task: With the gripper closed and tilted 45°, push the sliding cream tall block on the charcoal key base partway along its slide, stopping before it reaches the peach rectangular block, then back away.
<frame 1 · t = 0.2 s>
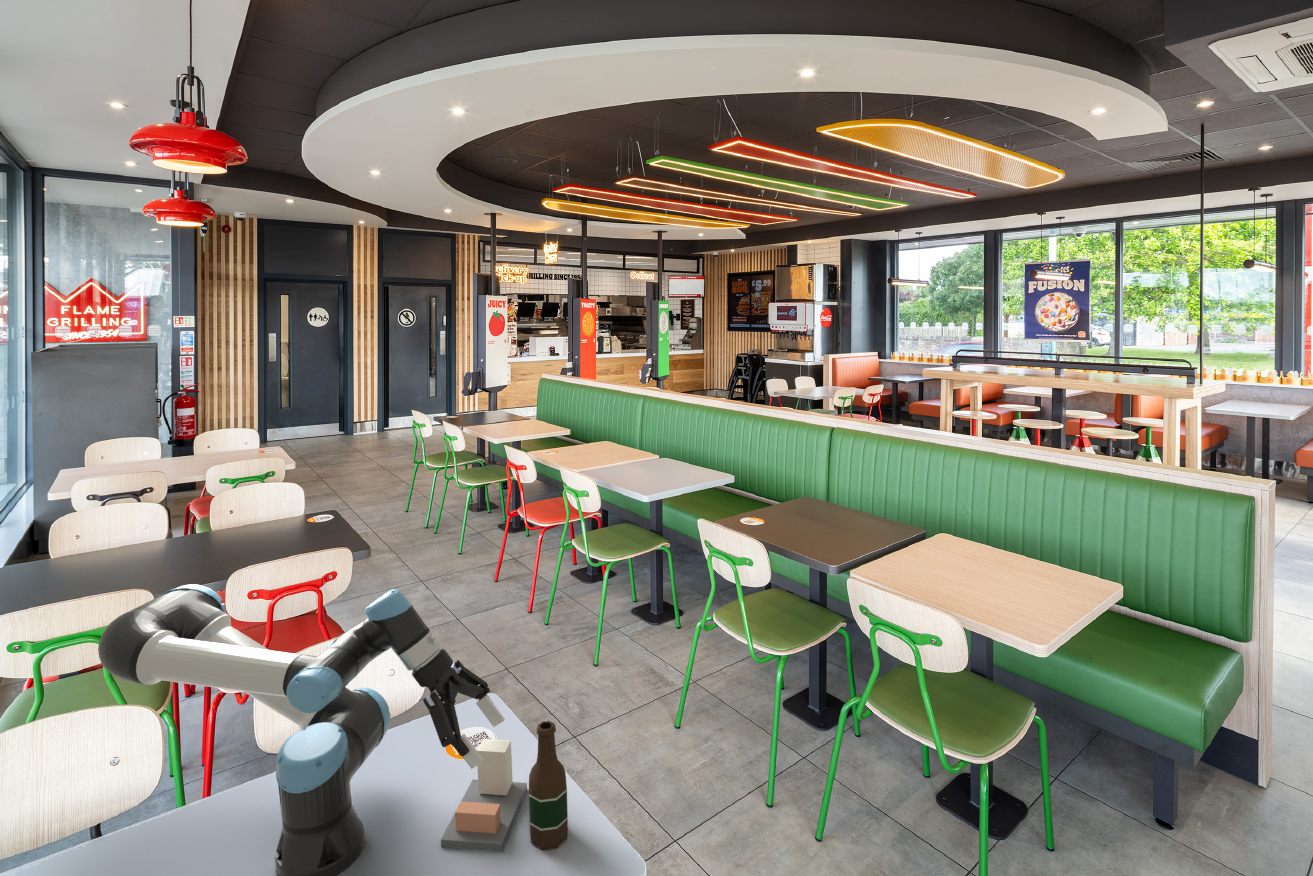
hand: (489, 743, 134), 16 cm above the table, tool tilted 35°, fingers open, 13 cm apart
peach rectangular block: (478, 833, 131), resting on key base
cream tall block: (494, 766, 140), point 7 cm above the table, slide at 0.0 cm
beer bottle: (549, 837, 130), on the table
key base: (486, 816, 136), on the table
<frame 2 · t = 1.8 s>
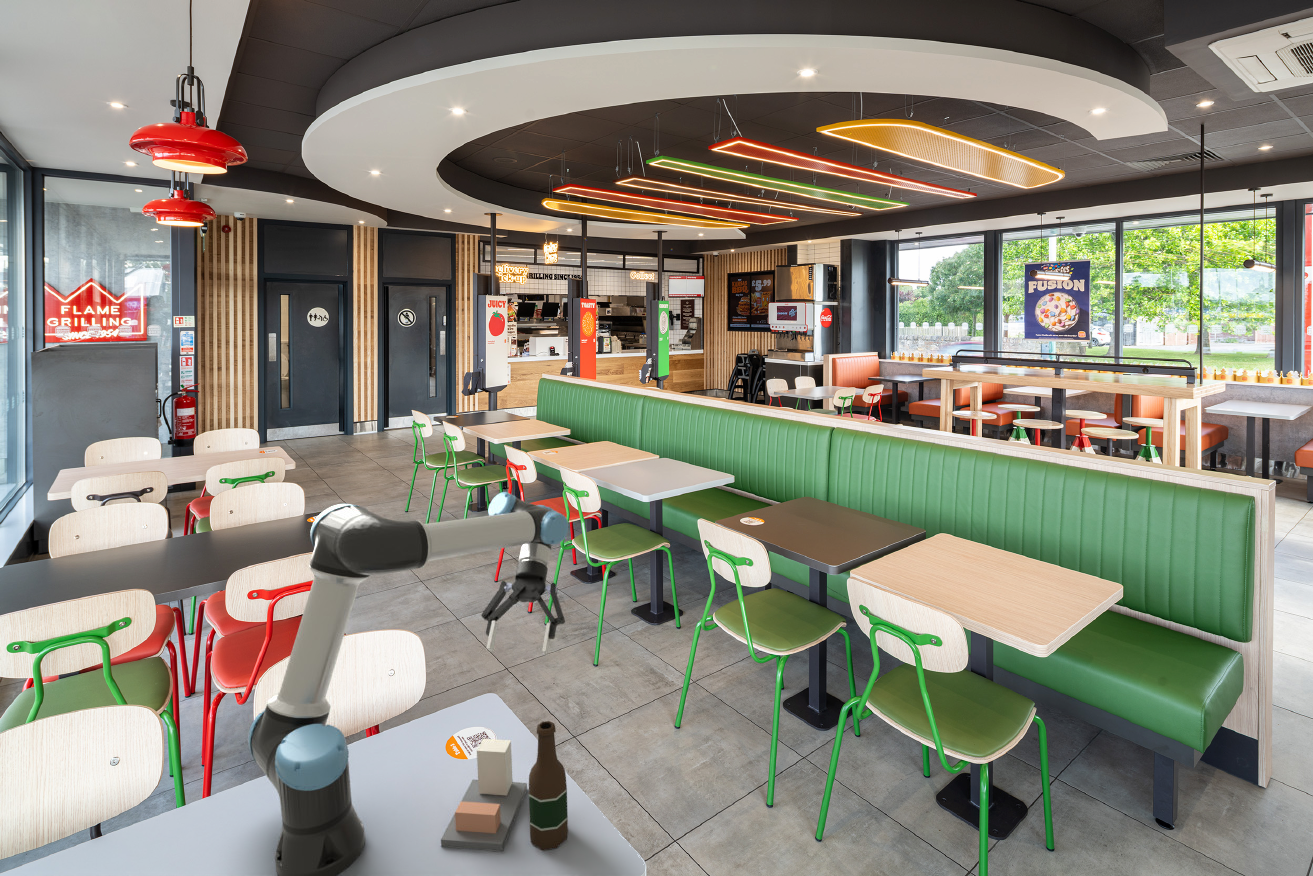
hand: (517, 651, 154), 24 cm above the table, tool tilted 45°, fingers open, 12 cm apart
nothing on the table moved.
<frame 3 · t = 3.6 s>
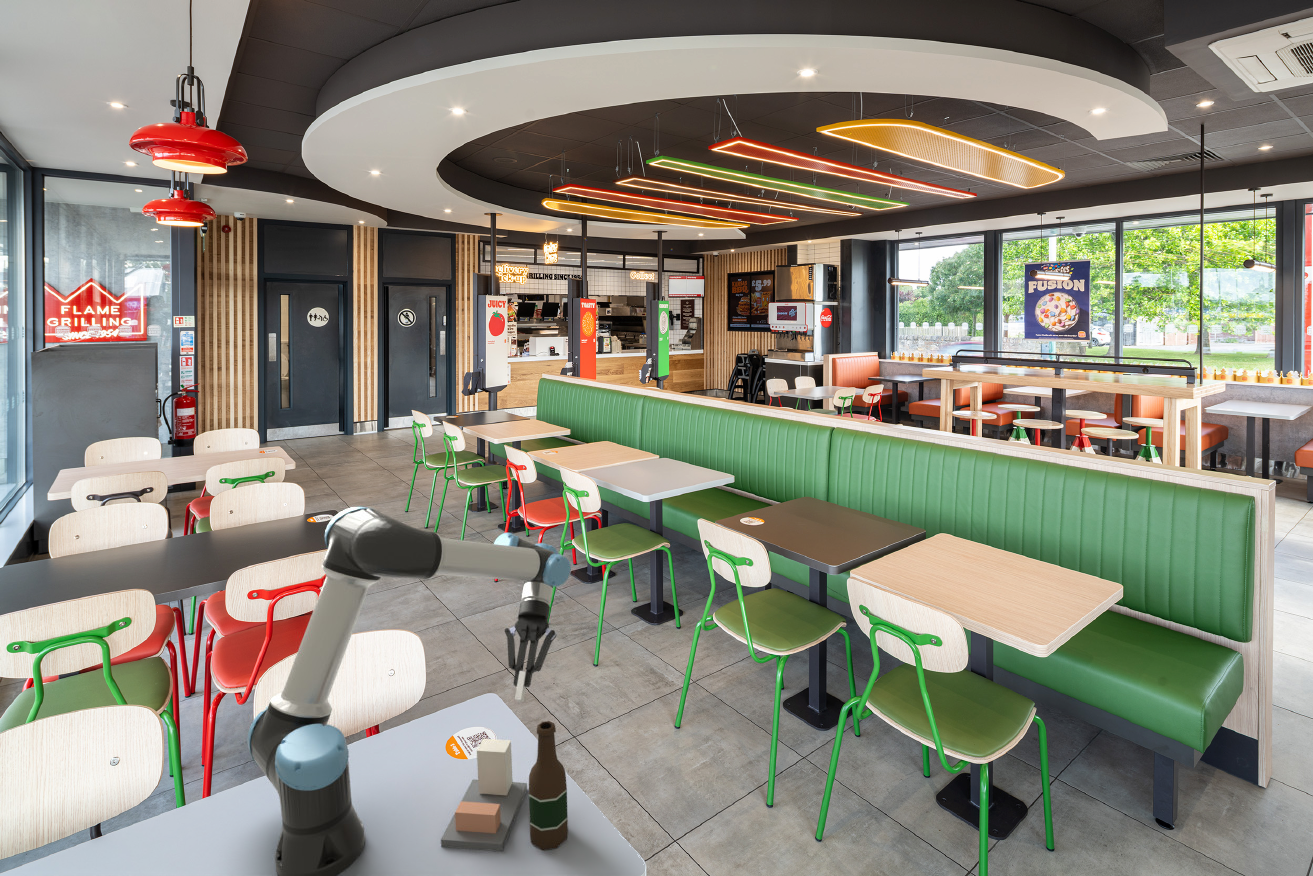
hand: (519, 700, 155), 12 cm above the table, tool tilted 45°, fingers closed
nothing on the table moved.
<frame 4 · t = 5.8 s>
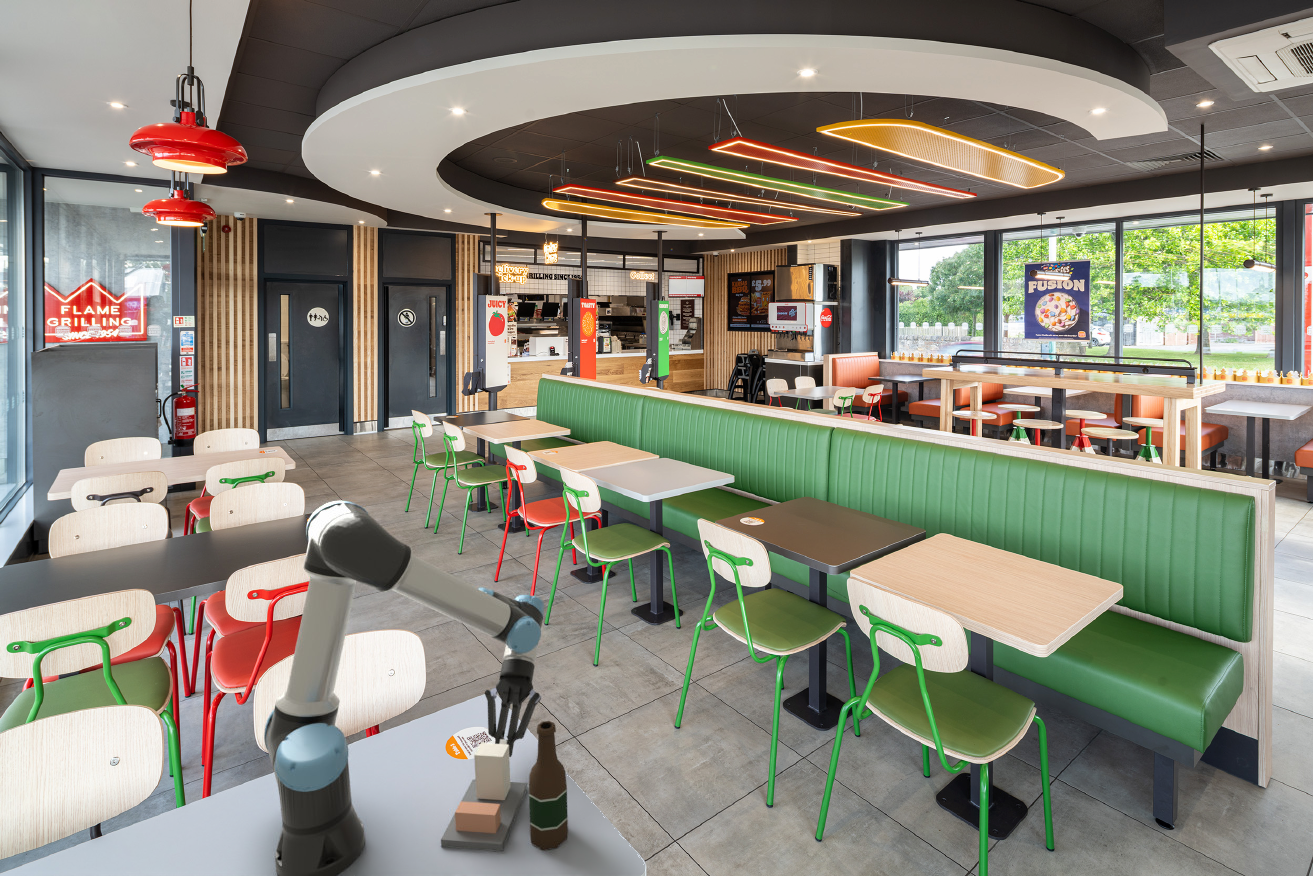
hand: (499, 773, 142), 4 cm above the table, tool tilted 45°, fingers closed
cream tall block: (492, 771, 139), point 7 cm above the table, slide at 1.4 cm, touching gripper
everything else where it was.
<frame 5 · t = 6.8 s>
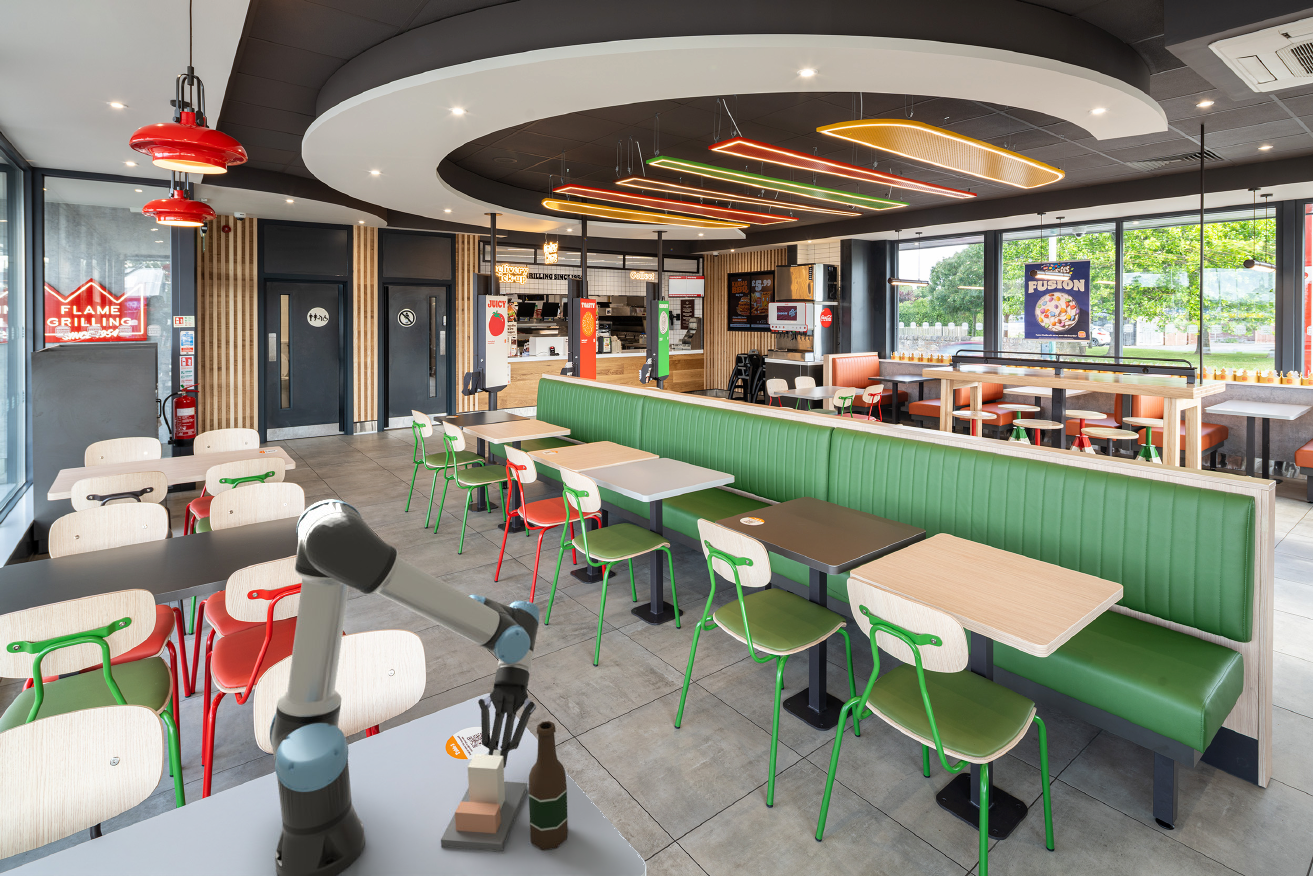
hand: (492, 784, 139), 4 cm above the table, tool tilted 45°, fingers closed
cream tall block: (486, 783, 135), point 7 cm above the table, slide at 5.1 cm, touching gripper
everything else where it was.
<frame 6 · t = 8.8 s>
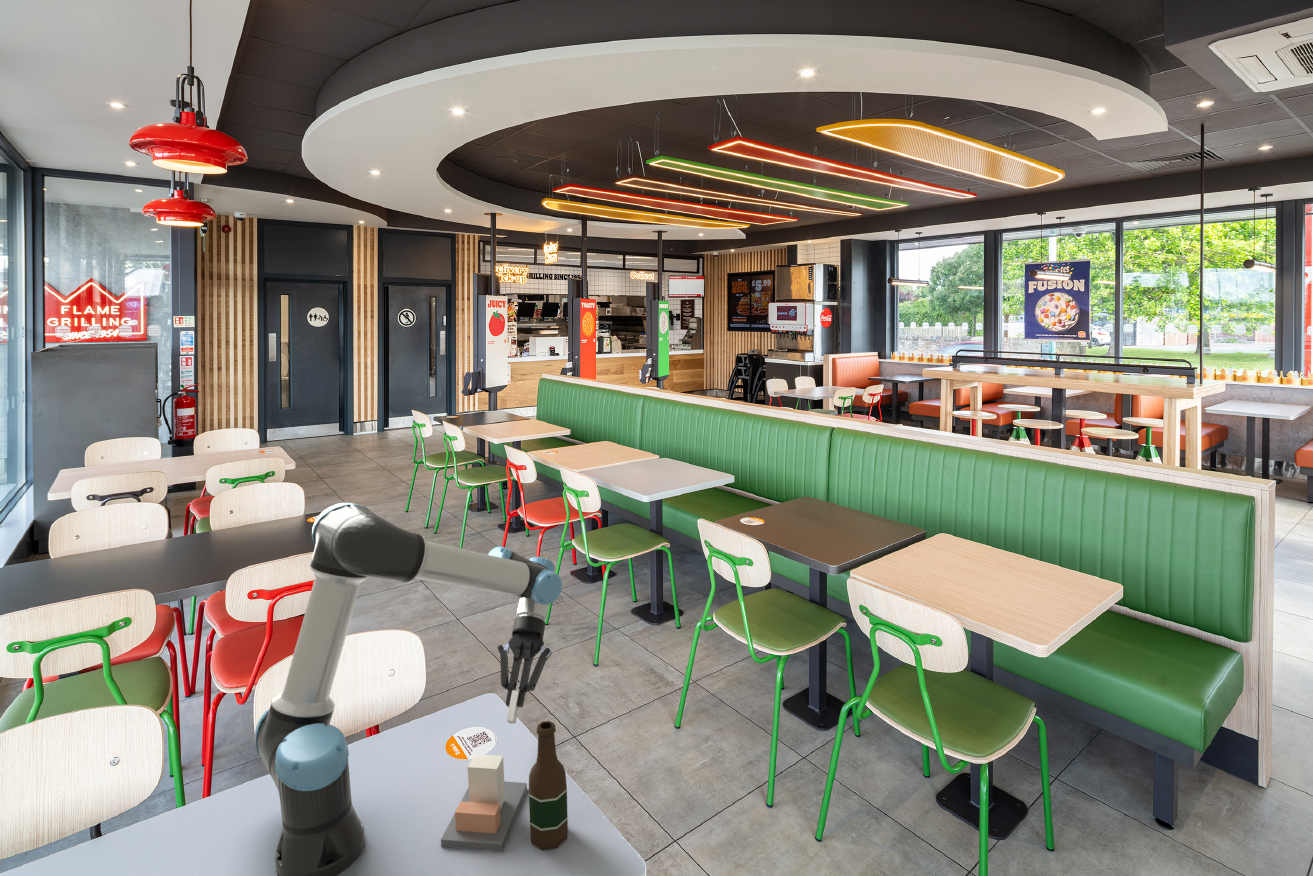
hand: (511, 721, 149), 11 cm above the table, tool tilted 45°, fingers closed
cream tall block: (486, 783, 135), point 7 cm above the table, slide at 5.2 cm
everything else where it was.
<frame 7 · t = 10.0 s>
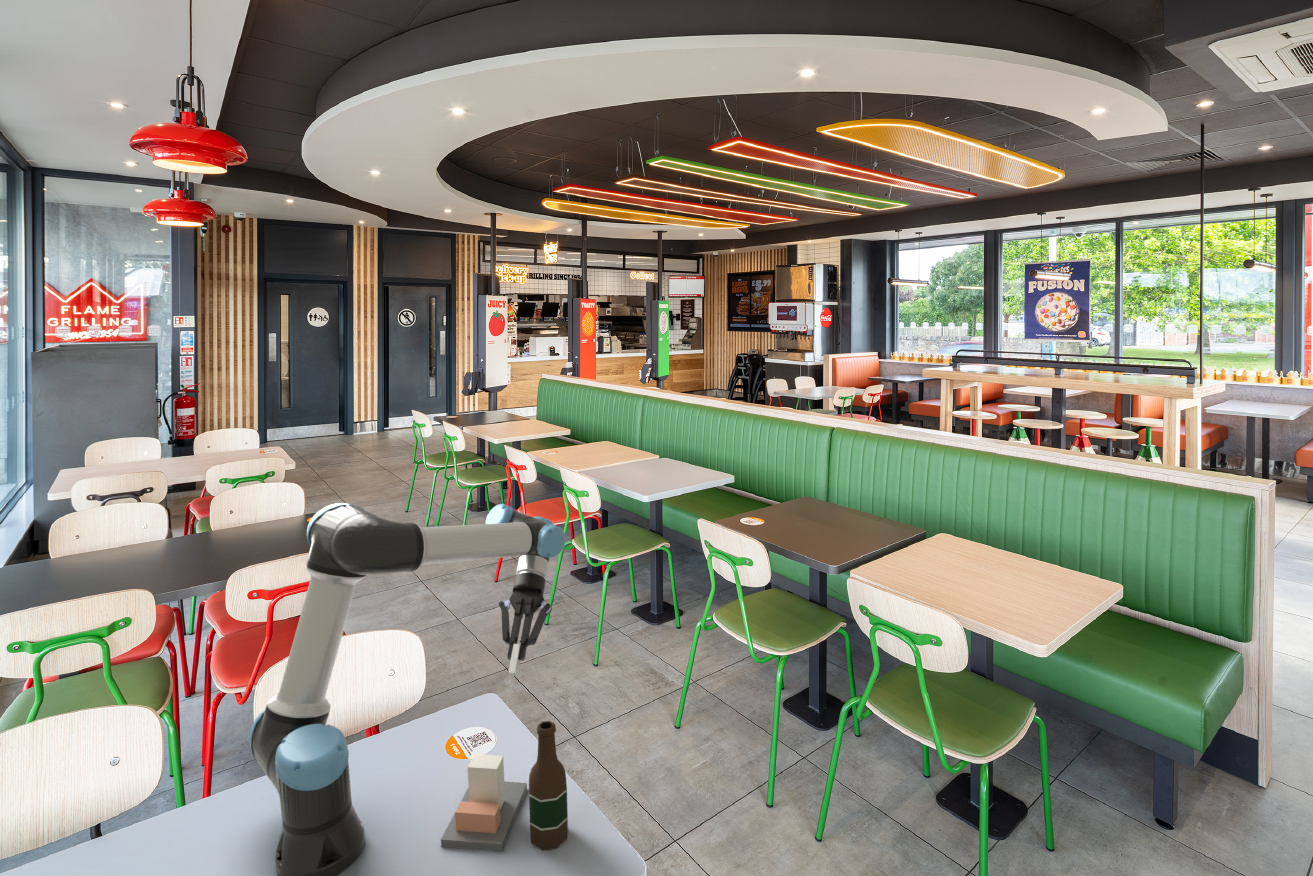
hand: (512, 674, 152), 20 cm above the table, tool tilted 45°, fingers closed
nothing on the table moved.
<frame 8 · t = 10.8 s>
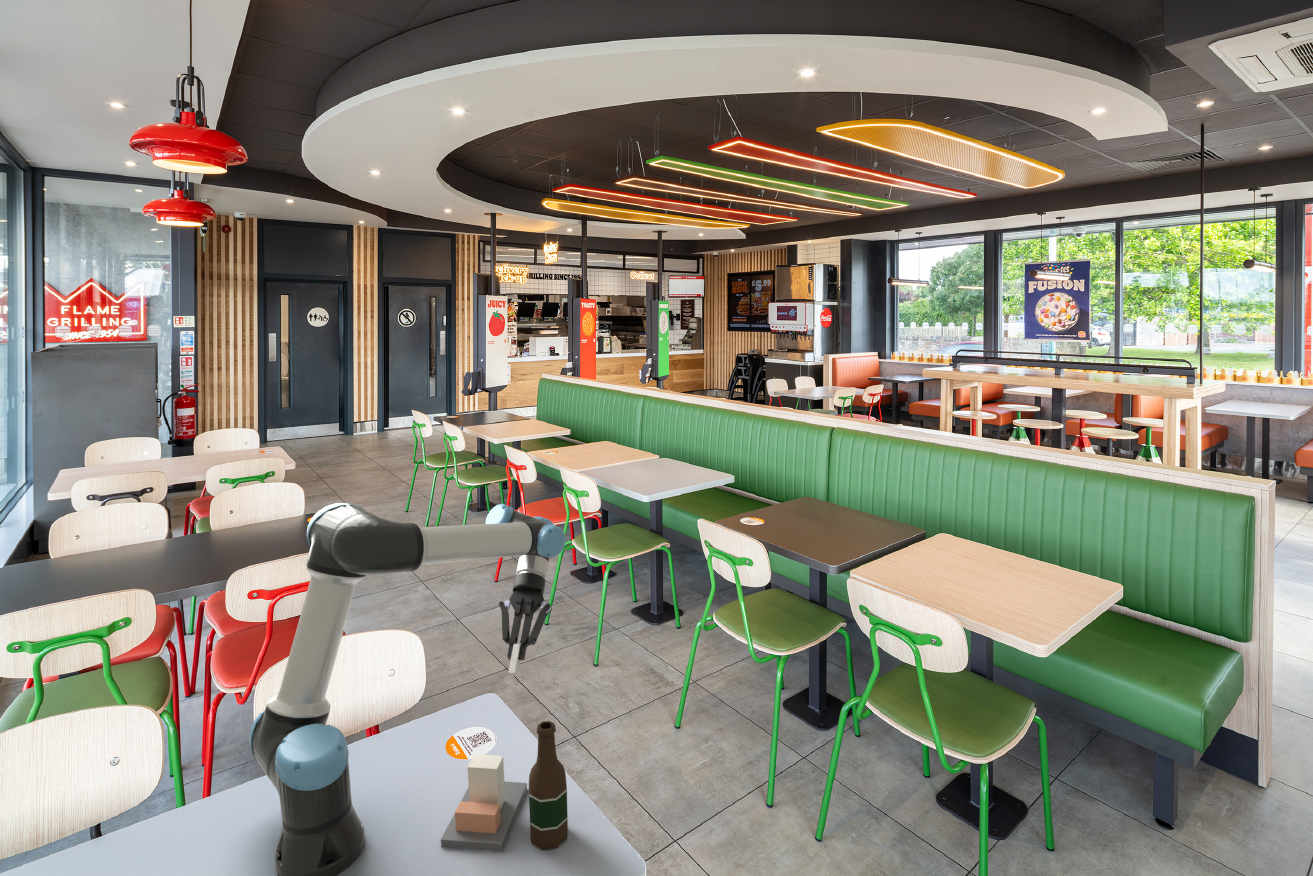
hand: (512, 674, 152), 20 cm above the table, tool tilted 45°, fingers closed
nothing on the table moved.
at the end: cream tall block slide at 5.2 cm; cream tall block touching nothing; beer bottle tilted 0° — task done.
